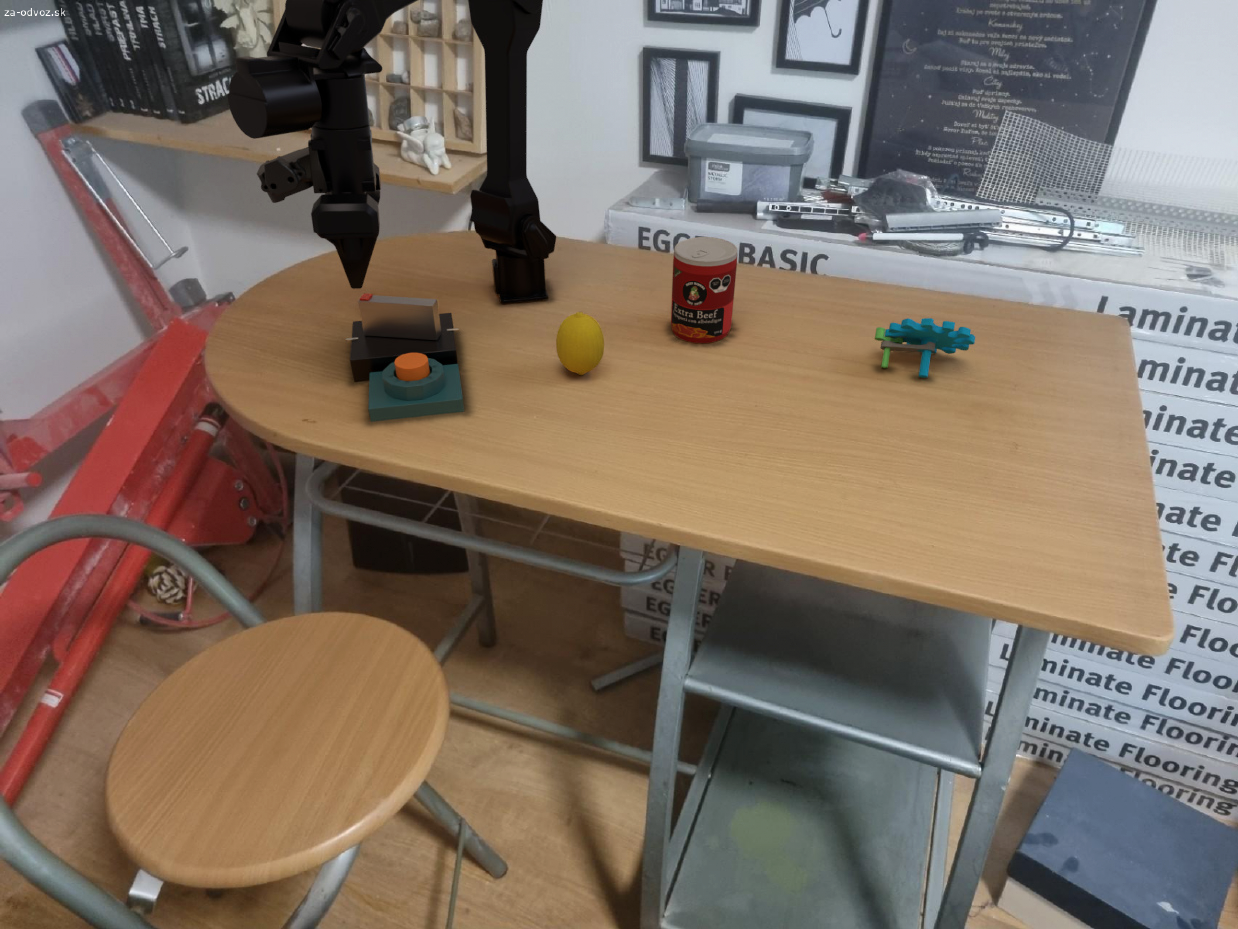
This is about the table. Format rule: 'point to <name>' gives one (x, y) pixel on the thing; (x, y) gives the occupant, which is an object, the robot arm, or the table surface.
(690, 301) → the canned food
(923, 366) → the gear
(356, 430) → the table surface
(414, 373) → the button
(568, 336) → the lemon
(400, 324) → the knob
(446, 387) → the control block
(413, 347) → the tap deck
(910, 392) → the table surface
